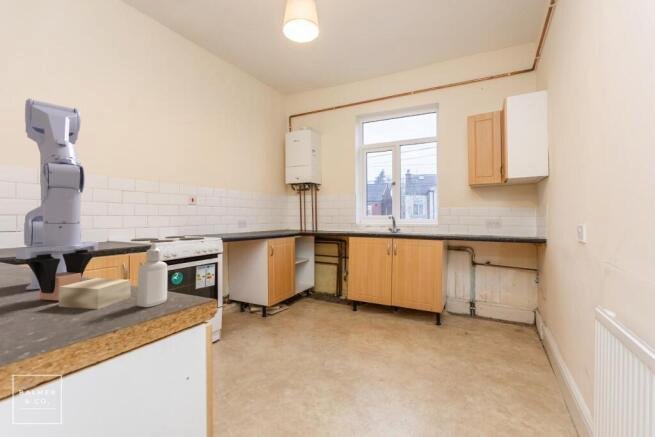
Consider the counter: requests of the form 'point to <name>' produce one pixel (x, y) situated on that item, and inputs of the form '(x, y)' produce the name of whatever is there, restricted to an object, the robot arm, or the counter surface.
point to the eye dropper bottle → (152, 279)
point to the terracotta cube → (61, 284)
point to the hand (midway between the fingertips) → (60, 289)
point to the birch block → (94, 293)
